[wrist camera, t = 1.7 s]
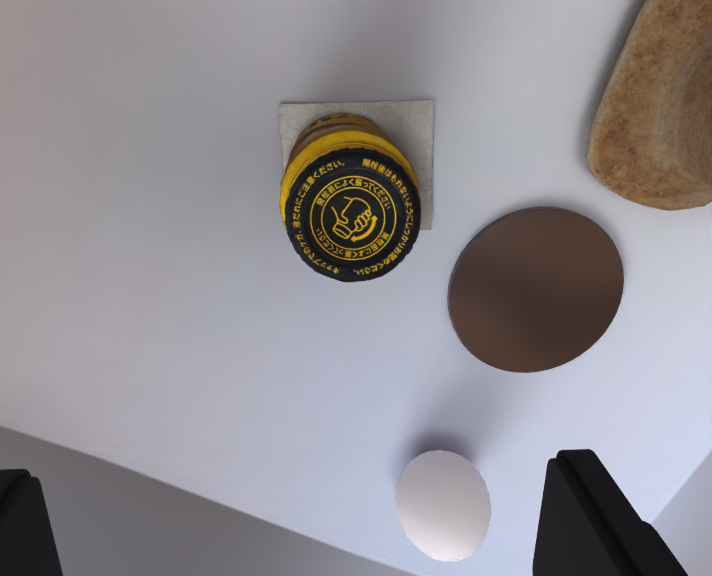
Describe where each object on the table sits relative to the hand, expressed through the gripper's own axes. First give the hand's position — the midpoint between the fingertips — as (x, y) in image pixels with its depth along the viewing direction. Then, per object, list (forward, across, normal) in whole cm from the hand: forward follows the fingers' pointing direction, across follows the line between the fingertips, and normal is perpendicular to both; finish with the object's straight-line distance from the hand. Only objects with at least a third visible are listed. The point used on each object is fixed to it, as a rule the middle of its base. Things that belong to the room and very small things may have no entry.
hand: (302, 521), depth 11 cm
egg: (+25, -8, +19) cm, 32 cm away
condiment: (+25, -2, -2) cm, 25 cm away
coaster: (+25, -14, +6) cm, 29 cm away
